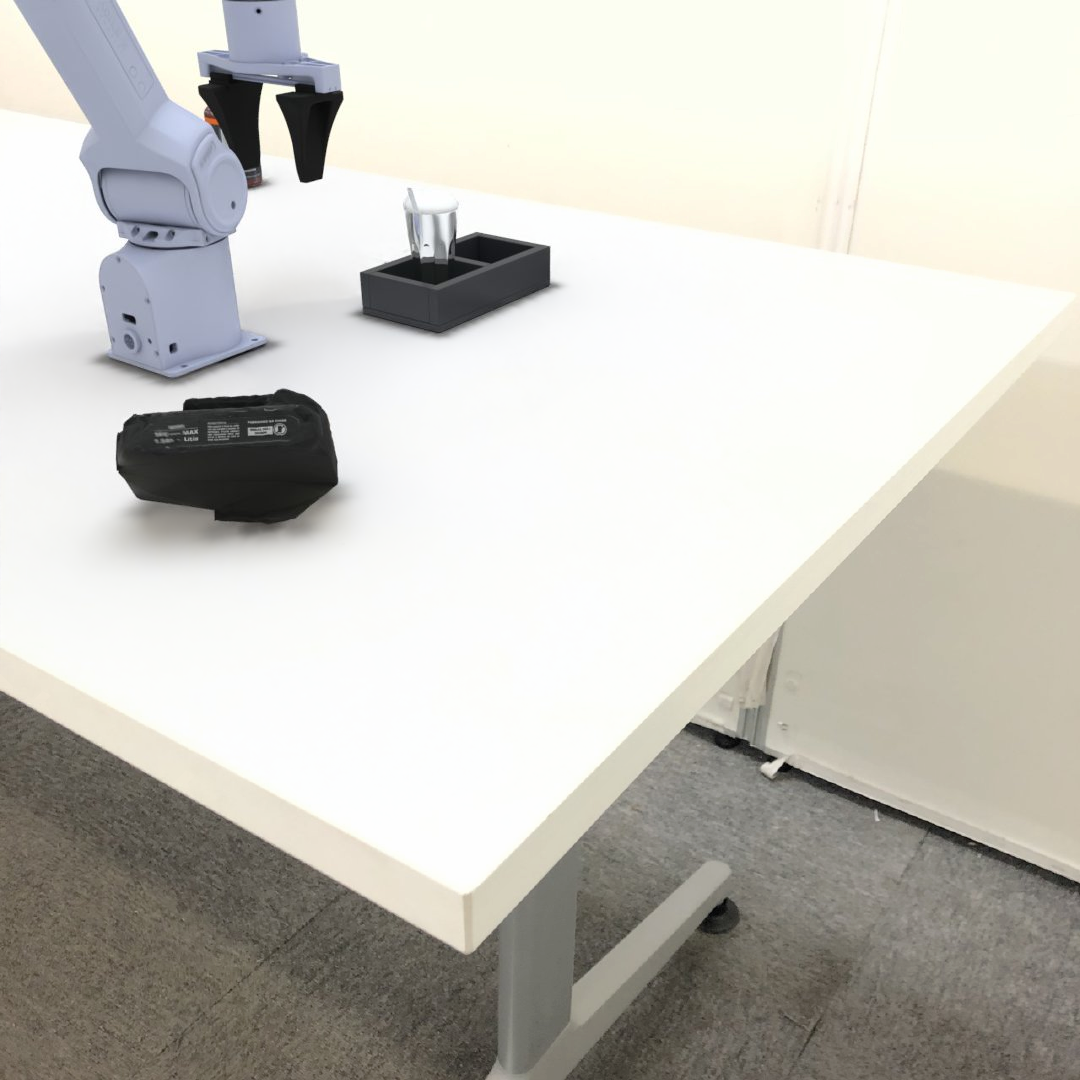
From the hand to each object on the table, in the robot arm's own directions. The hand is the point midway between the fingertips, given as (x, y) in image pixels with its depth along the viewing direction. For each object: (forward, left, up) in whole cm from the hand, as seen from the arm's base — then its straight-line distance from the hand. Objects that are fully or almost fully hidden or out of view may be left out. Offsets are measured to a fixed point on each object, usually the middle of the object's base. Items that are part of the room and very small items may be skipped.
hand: (279, 174), depth 96 cm
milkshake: (+4, -13, -10) cm, 17 cm away
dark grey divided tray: (+8, -13, -10) cm, 18 cm away
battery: (-30, -27, -11) cm, 42 cm away
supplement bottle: (+27, +37, -11) cm, 47 cm away
